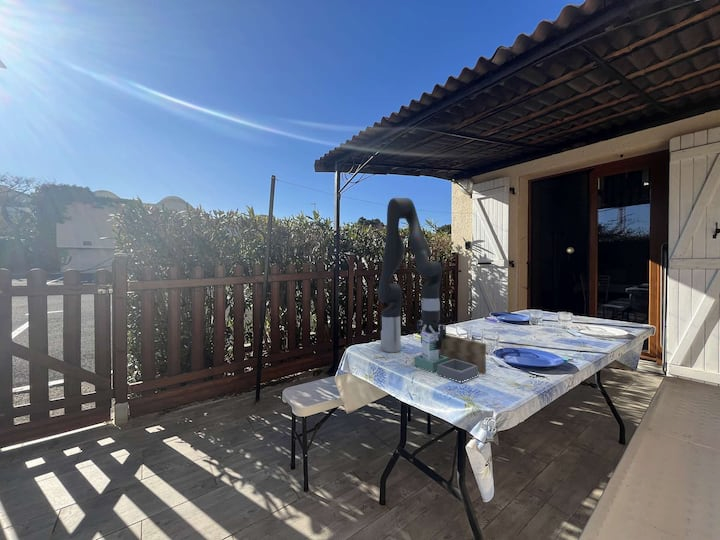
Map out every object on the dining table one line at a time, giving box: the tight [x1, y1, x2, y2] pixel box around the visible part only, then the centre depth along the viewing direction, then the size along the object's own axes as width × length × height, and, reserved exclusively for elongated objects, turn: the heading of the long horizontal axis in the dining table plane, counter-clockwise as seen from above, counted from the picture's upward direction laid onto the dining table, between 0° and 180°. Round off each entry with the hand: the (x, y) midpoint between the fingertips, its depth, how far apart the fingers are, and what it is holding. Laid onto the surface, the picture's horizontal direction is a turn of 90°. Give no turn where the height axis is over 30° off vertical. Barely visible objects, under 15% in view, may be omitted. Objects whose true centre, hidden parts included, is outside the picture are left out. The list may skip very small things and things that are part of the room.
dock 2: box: [436, 359, 479, 382], centre depth 122 cm, size 11×11×4 cm
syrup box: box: [421, 331, 440, 362], centre depth 132 cm, size 6×6×14 cm
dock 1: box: [413, 354, 448, 373], centre depth 132 cm, size 10×10×4 cm
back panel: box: [440, 334, 487, 375], centre depth 133 cm, size 25×2×12 cm, turn 37°
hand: (431, 346), depth 132 cm, fingers open, 7 cm apart
